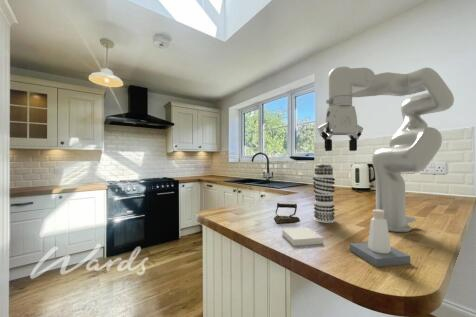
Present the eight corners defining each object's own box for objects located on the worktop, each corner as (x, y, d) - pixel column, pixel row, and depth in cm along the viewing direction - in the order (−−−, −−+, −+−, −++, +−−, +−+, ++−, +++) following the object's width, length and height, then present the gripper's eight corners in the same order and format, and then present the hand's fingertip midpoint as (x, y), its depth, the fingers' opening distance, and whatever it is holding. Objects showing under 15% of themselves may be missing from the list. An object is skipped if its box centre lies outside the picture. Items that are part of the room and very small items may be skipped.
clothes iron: (272, 220, 97) (276, 198, 98) (295, 225, 97) (300, 204, 98) (275, 223, 90) (280, 200, 91) (301, 229, 90) (305, 206, 91)
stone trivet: (308, 233, 78) (308, 227, 78) (323, 243, 69) (323, 237, 69) (282, 234, 77) (282, 229, 77) (293, 246, 67) (293, 239, 67)
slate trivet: (378, 247, 65) (378, 241, 65) (410, 263, 55) (410, 255, 55) (349, 250, 63) (349, 243, 63) (376, 267, 54) (376, 259, 54)
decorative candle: (318, 223, 90) (317, 164, 90) (310, 217, 99) (309, 164, 99) (339, 223, 90) (338, 164, 90) (329, 217, 99) (329, 163, 99)
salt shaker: (395, 252, 57) (395, 211, 57) (381, 255, 56) (380, 213, 56) (376, 244, 62) (376, 207, 63) (363, 247, 61) (362, 208, 61)
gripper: (324, 99, 71) (324, 150, 71) (369, 101, 74) (370, 150, 74) (312, 105, 79) (313, 151, 79) (354, 106, 81) (355, 151, 81)
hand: (340, 150), depth 76 cm, fingers open, 9 cm apart
